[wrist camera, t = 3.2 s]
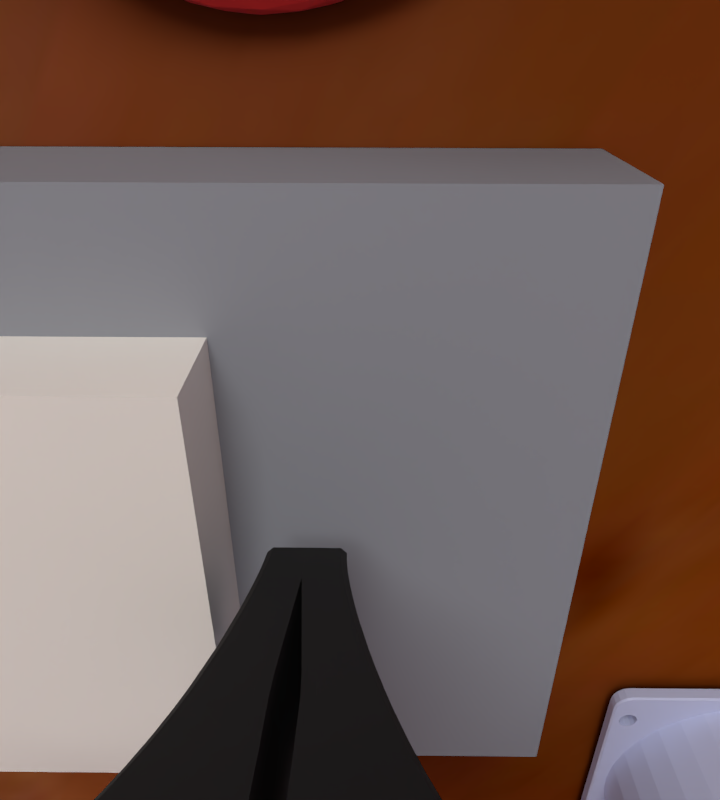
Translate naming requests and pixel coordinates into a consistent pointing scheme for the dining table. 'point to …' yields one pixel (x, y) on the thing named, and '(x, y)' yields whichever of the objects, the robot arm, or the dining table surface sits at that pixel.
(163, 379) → the tile
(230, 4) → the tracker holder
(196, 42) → the dining table surface
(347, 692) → the robot arm
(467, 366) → the block
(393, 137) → the dining table surface
